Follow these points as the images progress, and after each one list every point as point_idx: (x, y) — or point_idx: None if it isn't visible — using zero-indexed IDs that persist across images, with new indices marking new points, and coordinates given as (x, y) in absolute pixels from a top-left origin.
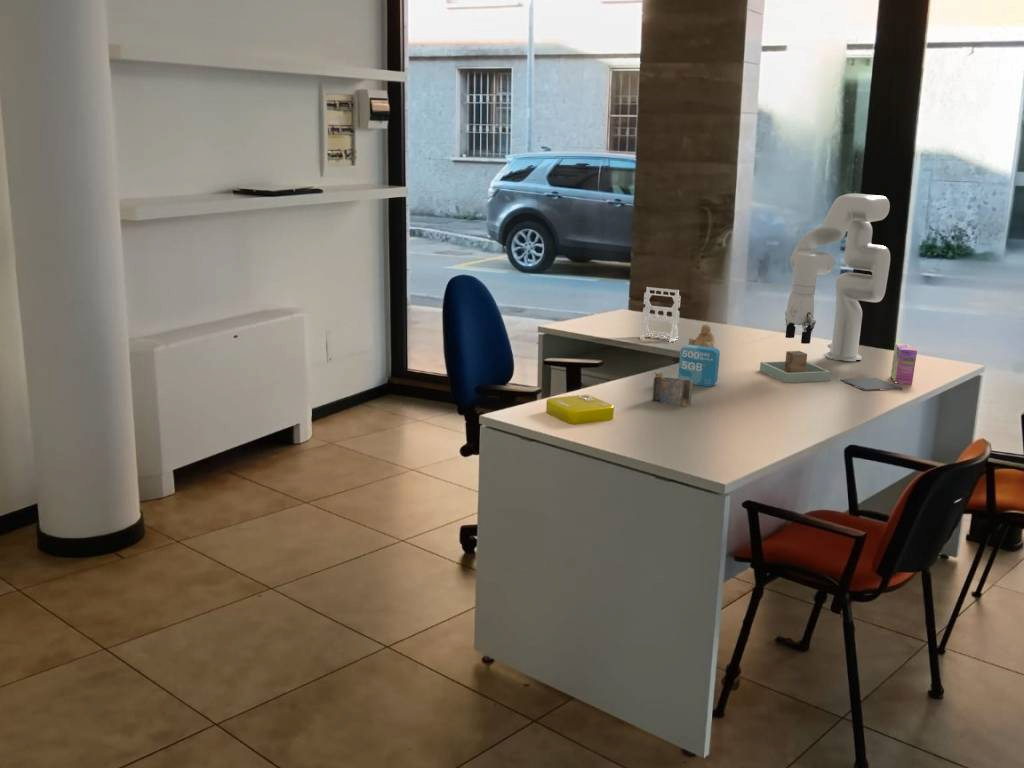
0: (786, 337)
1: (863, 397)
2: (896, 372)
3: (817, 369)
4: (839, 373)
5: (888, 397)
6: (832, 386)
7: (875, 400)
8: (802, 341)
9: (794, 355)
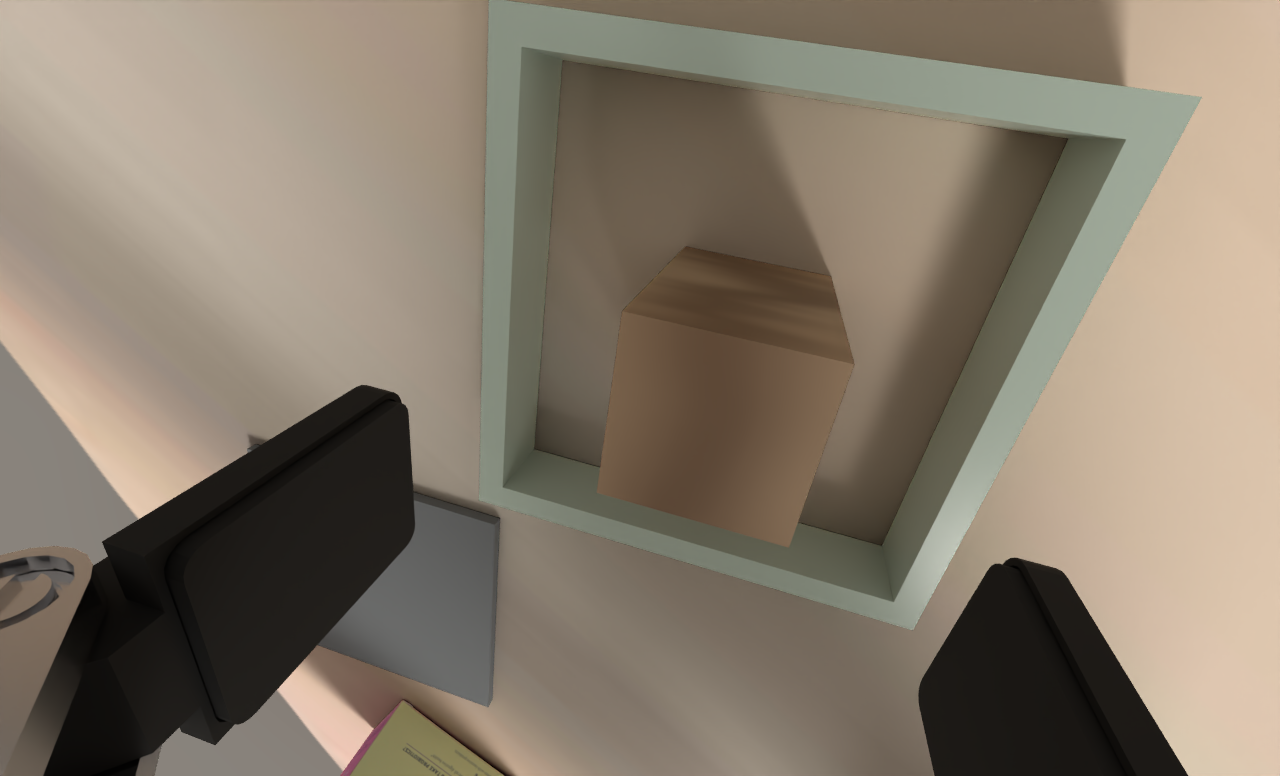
0: (1014, 562)
1: (116, 314)
2: (365, 756)
3: (642, 515)
4: (667, 661)
5: (138, 445)
6: (365, 345)
7: (65, 327)
8: (342, 410)
9: (624, 311)
